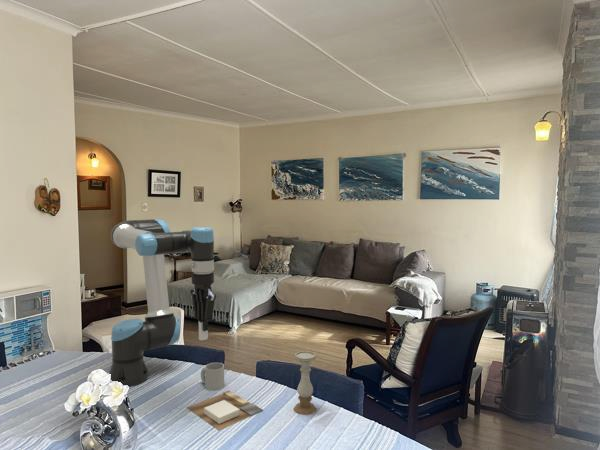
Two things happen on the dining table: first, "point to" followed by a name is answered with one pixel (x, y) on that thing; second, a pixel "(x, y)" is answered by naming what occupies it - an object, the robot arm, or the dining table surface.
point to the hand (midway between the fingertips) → (203, 339)
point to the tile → (221, 411)
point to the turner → (242, 403)
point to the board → (199, 411)
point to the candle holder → (305, 384)
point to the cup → (213, 376)
